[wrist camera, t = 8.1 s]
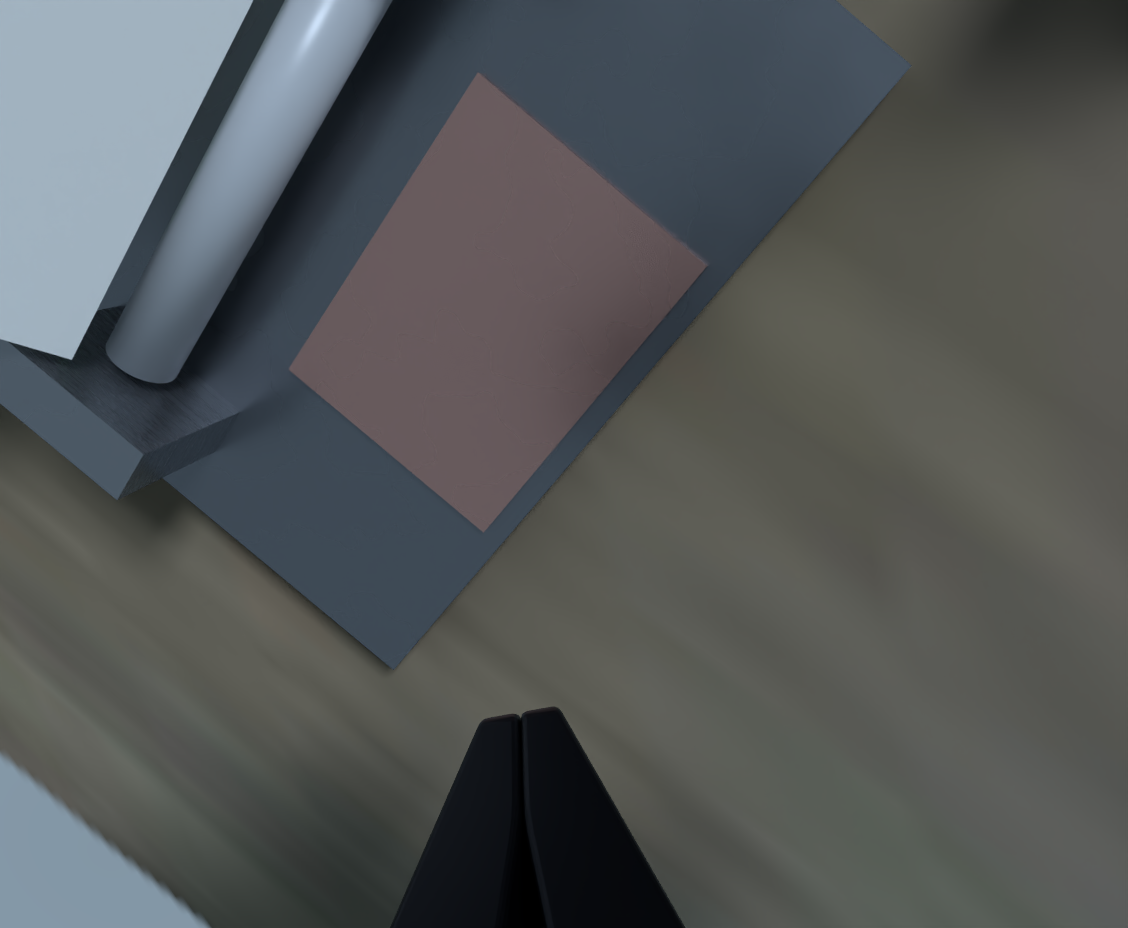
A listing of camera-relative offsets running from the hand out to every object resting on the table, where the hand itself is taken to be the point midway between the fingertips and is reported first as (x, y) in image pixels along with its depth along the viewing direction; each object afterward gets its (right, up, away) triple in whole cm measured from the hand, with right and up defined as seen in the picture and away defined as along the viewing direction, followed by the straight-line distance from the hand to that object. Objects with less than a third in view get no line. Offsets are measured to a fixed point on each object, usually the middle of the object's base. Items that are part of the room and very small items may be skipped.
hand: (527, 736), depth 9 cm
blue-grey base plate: (-5, +10, +11) cm, 16 cm away
